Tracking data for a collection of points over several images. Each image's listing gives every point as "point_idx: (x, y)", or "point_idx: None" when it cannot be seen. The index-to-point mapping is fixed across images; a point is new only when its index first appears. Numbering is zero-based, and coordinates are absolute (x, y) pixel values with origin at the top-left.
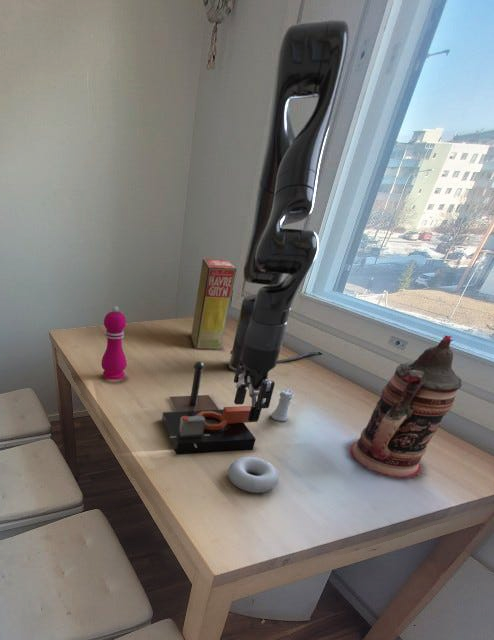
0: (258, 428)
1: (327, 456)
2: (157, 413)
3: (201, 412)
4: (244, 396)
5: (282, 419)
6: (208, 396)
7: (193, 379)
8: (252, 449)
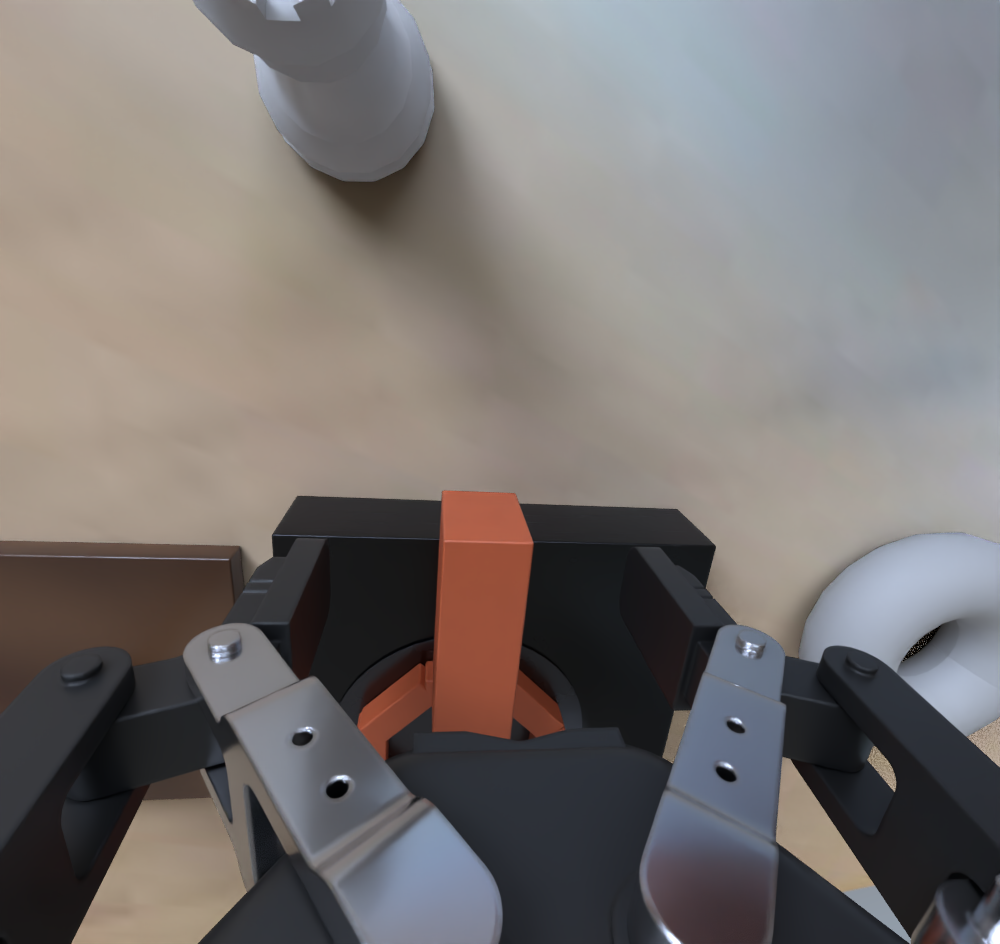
0: (446, 347)
1: (928, 7)
2: (198, 856)
3: None
4: (311, 584)
5: (426, 101)
6: None
7: None
8: (678, 511)
